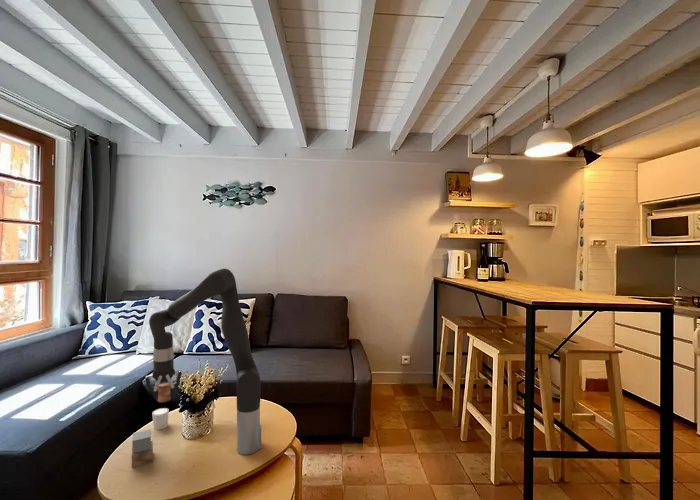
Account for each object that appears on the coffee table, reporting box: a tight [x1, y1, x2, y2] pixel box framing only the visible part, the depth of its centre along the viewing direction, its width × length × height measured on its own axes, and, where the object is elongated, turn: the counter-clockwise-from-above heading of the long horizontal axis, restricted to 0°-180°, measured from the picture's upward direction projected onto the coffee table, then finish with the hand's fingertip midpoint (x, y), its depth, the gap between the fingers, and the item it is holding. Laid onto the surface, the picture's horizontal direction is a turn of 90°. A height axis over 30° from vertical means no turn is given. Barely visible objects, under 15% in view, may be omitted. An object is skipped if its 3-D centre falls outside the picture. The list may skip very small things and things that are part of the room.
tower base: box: [131, 440, 154, 468], centre depth 140 cm, size 7×7×5 cm
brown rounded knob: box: [156, 382, 172, 403], centre depth 150 cm, size 5×5×6 cm
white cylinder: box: [151, 407, 170, 431], centre depth 164 cm, size 7×7×7 cm
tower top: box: [131, 429, 152, 454], centre depth 140 cm, size 6×6×5 cm
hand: (164, 397), depth 151 cm, fingers closed on brown rounded knob, 5 cm apart
